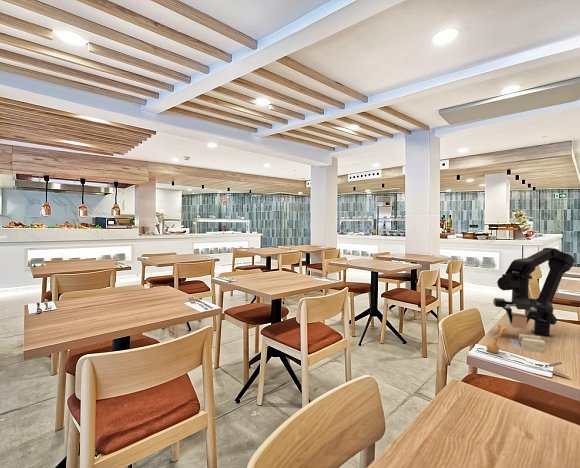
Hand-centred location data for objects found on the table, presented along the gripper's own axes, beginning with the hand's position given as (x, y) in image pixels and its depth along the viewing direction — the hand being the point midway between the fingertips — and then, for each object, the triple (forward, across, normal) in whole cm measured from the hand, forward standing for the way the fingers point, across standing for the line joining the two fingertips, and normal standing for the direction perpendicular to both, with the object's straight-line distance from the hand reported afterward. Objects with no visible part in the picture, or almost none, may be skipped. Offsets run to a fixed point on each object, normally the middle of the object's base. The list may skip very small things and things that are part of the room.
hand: (518, 324), depth 140 cm
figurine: (+7, -12, -24) cm, 27 cm away
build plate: (+6, +1, -10) cm, 12 cm away
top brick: (+1, 0, 0) cm, 1 cm away
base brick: (+6, +2, -12) cm, 13 cm away
